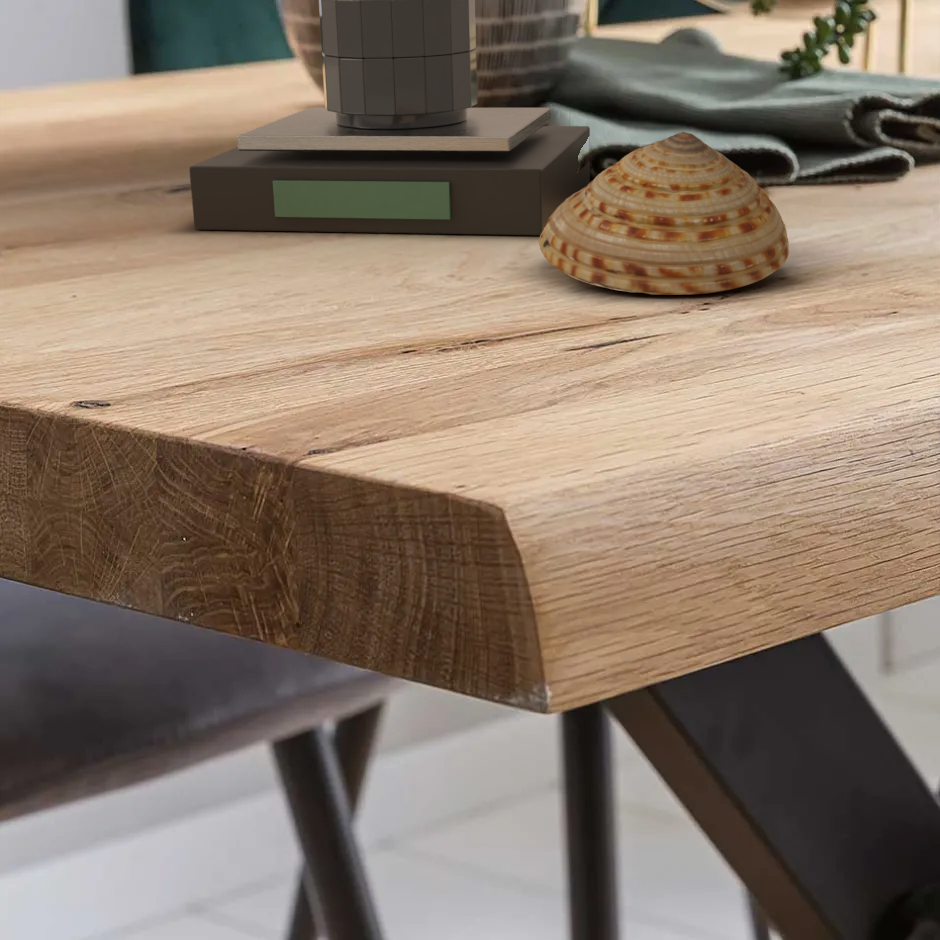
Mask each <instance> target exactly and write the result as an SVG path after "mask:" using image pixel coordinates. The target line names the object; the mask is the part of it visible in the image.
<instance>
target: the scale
mask: <svg viewBox="0 0 940 940" xmlns="http://www.w3.org/2000/svg"><path fill="white" fill-rule="evenodd" d="M589 136H590V137H591V128H590V126H589V125H544V126H543V127H541V128H540V129H539V130H537V131H536V132H535V133H533V134H532V135H531V136H529V137H528V138H527V139H525V140H524V141H523V142H521V143H520V144H519V145H517V146H516V147H515V148H513V149H512V150H511V151H509V152H383V151H239V150H238V146H237V147H234V148H231V149H229V150H227V151H224V152H222V153H220V154H217V155H215V156H212V157H209V158H207V159H205V160H202V161H200V162H198V163H195V164H193V165H191V166H189V170H188V171H189V180H190V191H191V192H190V193H191V202H192V203H191V205H192V214H193V227H194V230H198V231H252V232H253V231H258V232H259V231H261V232H314V233H316V232H317V233H321V232H322V233H372V234H373V233H374V234H375V233H376V234H377V233H378V234H427V235H428V234H435V235H493V236H494V235H495V236H497V235H498V236H541V233H542V231H543V230H544V226H545V224H546V222H547V220H548V219H549V217H550V216H551V215H552V214H553V212H554V211H555V210H556V209H557V208H558V207H559V206H560V205H561V204H562V203H563V202H564V201H565V200H566V199H567V198H569V197H570V196H571V195H573V194H574V193H576V192H578V191H580V190H581V189H582V188H584V187H586V186H588V184H589V183H590V182H591V160H590V161H589V162H588V163H587V164H586V165H585V166H584V167H583V168H582V169H581V170H580V171H579V172H578V168H579V165H580V164H579V161H578V155H579V153H580V150H581V148H582V147H583V145H584V144H585V143H586V141H587V139H588V137H589ZM577 172H578V173H577Z"/></svg>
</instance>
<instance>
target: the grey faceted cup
mask: <svg viewBox="0 0 940 940" xmlns="http://www.w3.org/2000/svg"><path fill="white" fill-rule="evenodd" d="M318 10H319V11H318V12H319V24H320V25H319V28H320V46H321V53H322V54H321V62H322V80H323V96H324V99H323V100H324V108H326V109H327V110H328V111H330V112H335V113H336V123H337V124H338V125H341V126H344V127H349V128H358V129H380V130H392V129H418V128H430V127H439V126H446V125H452V124H457V123H460V122H463V121H465V120H466V119H467V108H473V107H474V106H476V105H477V104H478V70H477V67H478V66H477V31H476V30H477V29H476V24H477V23H476V0H318Z"/></svg>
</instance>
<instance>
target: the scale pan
mask: <svg viewBox="0 0 940 940" xmlns="http://www.w3.org/2000/svg"><path fill="white" fill-rule="evenodd" d="M550 121H551V108H550V107H470V108H467V119H466V120H465V121H463V122H460V123H457V124H452V125H446V126H439V127H430V128H418V129H392V130H380V129H358V128H349V127H344V126H341V125H338V124H337V123H336V113H335V112H330V111H328V110H327V109H326V108H325V107H308V108H305V109H303V110H300V111H297V112H295V113H292V114H290V115H287V116H285V117H282V118H280V119H276V120H274V121H272V122H269V123H267V124H264V125H261V126H259V127H257V128H254V129H252V130H249V131H246V132H244V133H241V134H238V135H237V136H236V141H237V147H238V150H239V151H383V152H509V151H511V150H512V149H513V148H515V147H516V146H517V145H519V144H520V143H521V142H523V141H524V140H525V139H527V138H528V137H529V136H531V135H532V134H533V133H535V132H536V131H537V130H539V129H540V128H541V127H543V126H546V125H547V124H549V122H550Z"/></svg>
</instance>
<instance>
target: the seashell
mask: <svg viewBox="0 0 940 940" xmlns="http://www.w3.org/2000/svg"><path fill="white" fill-rule="evenodd" d="M538 247H539V250H540V252H541V254H542V255H543V257H544V258H545V259H546V261H548V263H549V264H550V265H551V266H552V267H553V268H555V269H556V270H558V271H560V272H562V273H563V274H564V275H566V276H568V277H570V278H572V279H575V280H577V281H580V282H583V283H586V284H589V285H593V286H597V287H600V288H605V289H610V290H615V291H618V292H619V291H621V292H627V293H642V294H646V295H647V294H648V295H659V296H660V295H662V296H663V295H665V296H672V295H678V296H679V295H682V296H683V295H701V294H702V295H704V294H712V293H718V292H719V293H720V292H724V291H731V290H734V289H738V288H742V287H746V286H748V285H751V284H754V283H757V282H760V281H761V280H763V279H766V278H767V277H768V276H770V275H772V274H773V273H775V272H776V271H779V269H780V268H782V267H783V266H784V265H785V263H786V261H787V260H788V258H789V255H790V244H789V238H788V232H787V226H786V224H785V223H784V220H783V218H782V215H781V213H780V211H779V210H778V208H777V206H776V205H775V203H774V202H773V200H771V199H770V196H769V195H768V194H767V192H766V191H765V190H764V189H763V188H762V187H761V186H760V184H758V183H757V181H756V179H754V178H753V177H752V176H751V175H750V174H749V173H748V172H747V171H746V170H744V169H742V168H741V167H740V166H738V165H737V164H736V163H734V162H733V161H732V160H730V159H729V158H727V157H726V156H725V155H724V154H723V153H721V152H720V151H718V150H716V149H715V148H713V147H711V146H709V145H708V144H707V143H705V142H704V141H702V140H701V139H700V138H699V137H697V136H696V135H694V134H693V133H690V132H686V131H681V132H678V133H676V134H673V135H671V136H668V137H666V138H664V139H661V140H656V141H654V142H652V143H649V144H646V145H644V146H642V147H639V148H636V149H634V150H633V151H631V152H629V153H628V154H626V155H624V156H623V157H622V158H621V159H619V161H618V162H615V163H614V164H612V165H610V166H608V167H607V168H606V169H604V170H602V171H601V172H600V173H598V174H597V176H595V178H594V179H593V180H590V182H589V183H588V185H587V186H586V187H584V188H582V189H581V190H580V191H578V192H576V193H574V194H573V195H571V196H570V197H569V198H567V199H566V200H565V201H564V202H563V203H562V204H561V205H560V206H559V207H558V208H557V209H556V210H555V211H554V212H553V214H552V215H551V216H550V217H549V219H548V220H547V222H546V224H545V226H544V230H543V231H542V233H541V235H539V241H538Z"/></svg>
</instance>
